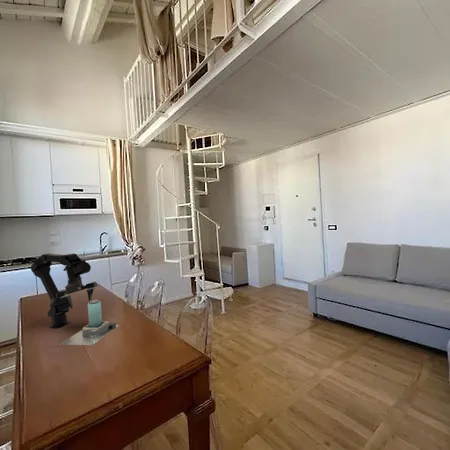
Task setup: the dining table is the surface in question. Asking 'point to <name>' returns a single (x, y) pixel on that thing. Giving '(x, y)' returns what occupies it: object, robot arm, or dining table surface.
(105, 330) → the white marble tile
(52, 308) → the robot arm
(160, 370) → the dining table surface
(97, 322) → the bottle
